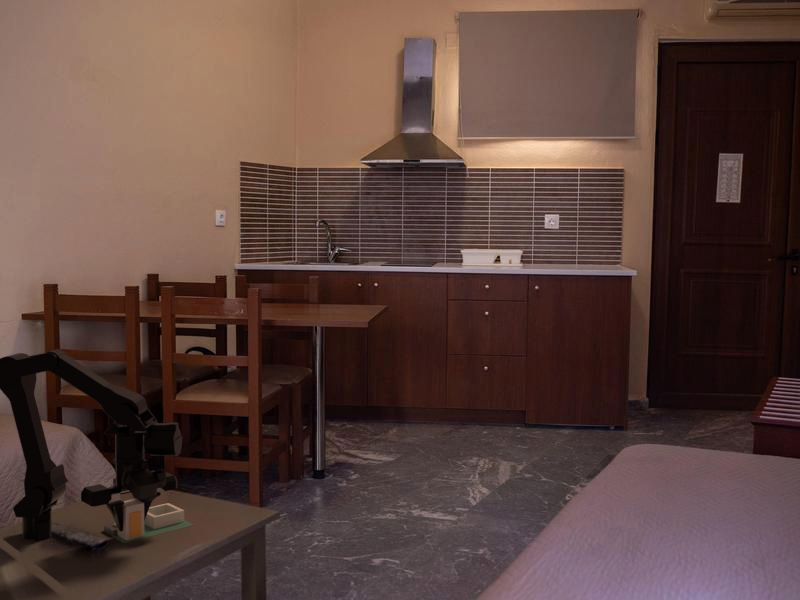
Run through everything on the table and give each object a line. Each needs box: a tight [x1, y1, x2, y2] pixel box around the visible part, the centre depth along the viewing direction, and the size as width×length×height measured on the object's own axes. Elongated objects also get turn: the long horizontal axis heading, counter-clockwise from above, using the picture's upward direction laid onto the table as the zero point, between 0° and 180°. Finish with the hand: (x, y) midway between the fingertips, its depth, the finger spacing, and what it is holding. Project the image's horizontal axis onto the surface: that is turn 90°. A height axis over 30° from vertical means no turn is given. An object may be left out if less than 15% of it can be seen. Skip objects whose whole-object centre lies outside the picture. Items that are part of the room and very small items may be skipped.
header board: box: [102, 502, 194, 544], centre depth 173 cm, size 10×16×4 cm, turn 134°
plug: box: [118, 498, 144, 540], centre depth 168 cm, size 4×4×7 cm
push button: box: [103, 522, 118, 537], centre depth 171 cm, size 5×5×2 cm
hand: (130, 528), depth 168 cm, fingers closed on plug, 4 cm apart
